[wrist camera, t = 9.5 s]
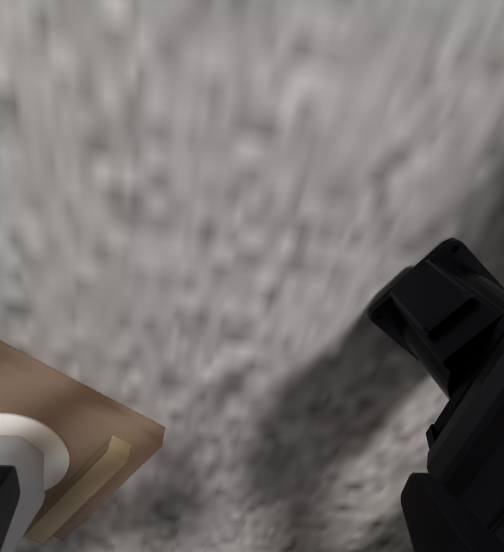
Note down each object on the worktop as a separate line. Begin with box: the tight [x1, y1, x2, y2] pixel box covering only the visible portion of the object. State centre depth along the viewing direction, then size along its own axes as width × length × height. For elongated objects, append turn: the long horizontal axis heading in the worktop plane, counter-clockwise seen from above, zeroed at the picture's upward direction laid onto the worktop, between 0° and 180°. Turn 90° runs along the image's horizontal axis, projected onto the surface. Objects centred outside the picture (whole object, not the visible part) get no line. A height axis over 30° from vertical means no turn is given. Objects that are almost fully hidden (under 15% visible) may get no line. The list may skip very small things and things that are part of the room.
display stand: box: [0, 341, 165, 543], centre depth 23 cm, size 14×12×3 cm
